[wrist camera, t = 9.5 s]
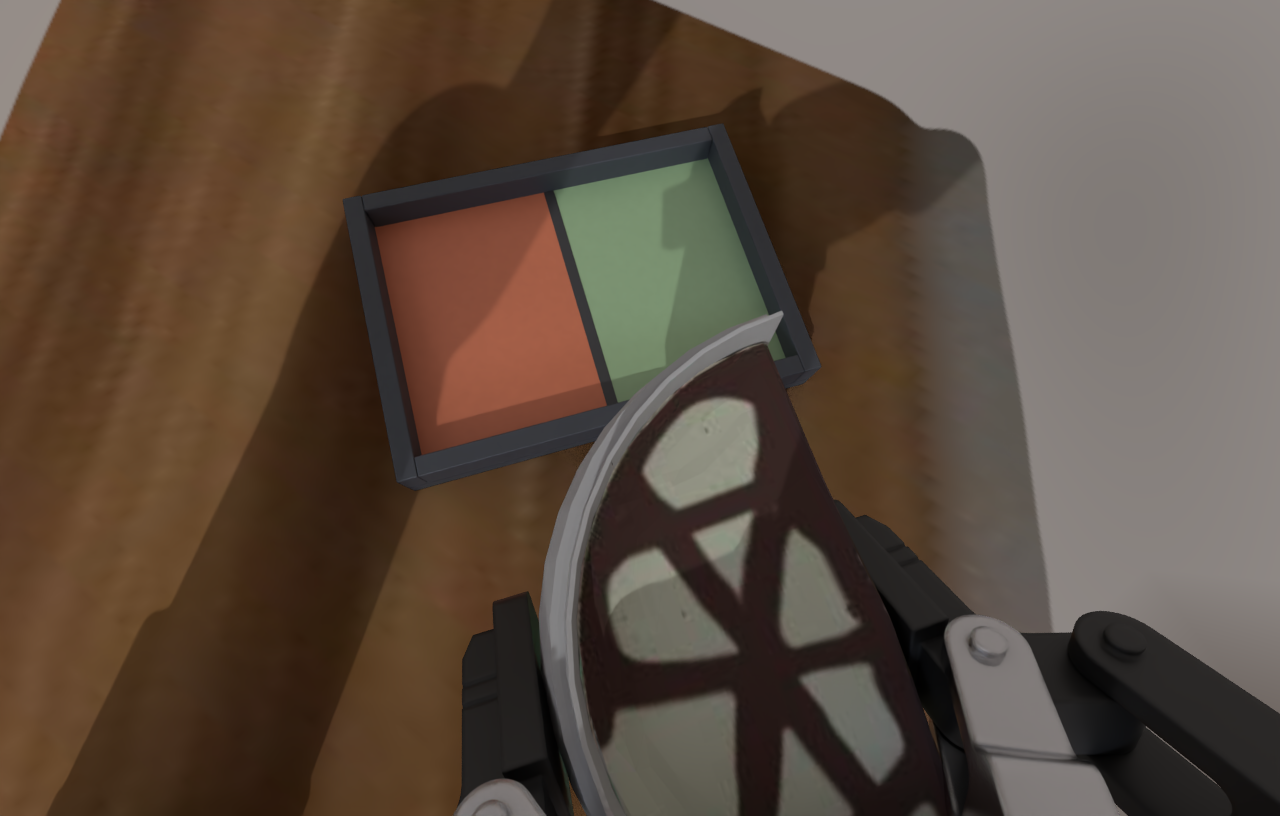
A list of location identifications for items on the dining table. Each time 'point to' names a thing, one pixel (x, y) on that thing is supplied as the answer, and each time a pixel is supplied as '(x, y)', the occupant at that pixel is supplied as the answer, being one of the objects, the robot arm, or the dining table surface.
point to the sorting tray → (557, 295)
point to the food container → (723, 615)
